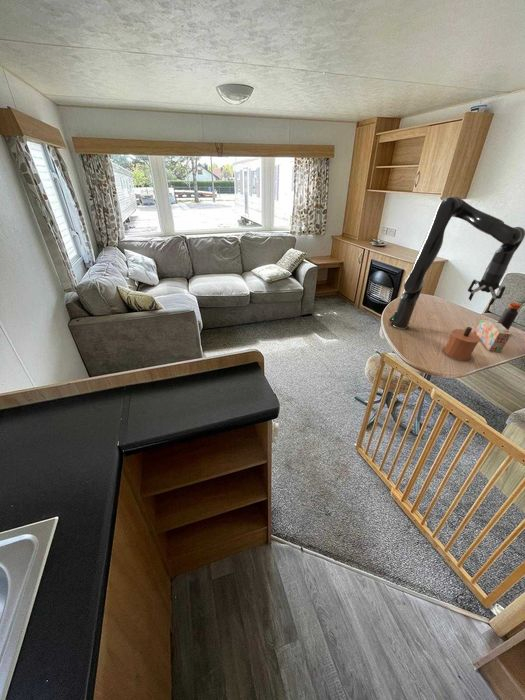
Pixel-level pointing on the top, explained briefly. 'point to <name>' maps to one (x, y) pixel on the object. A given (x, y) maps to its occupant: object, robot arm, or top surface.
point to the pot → (459, 348)
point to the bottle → (509, 315)
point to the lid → (466, 335)
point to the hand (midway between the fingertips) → (479, 302)
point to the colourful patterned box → (492, 335)
